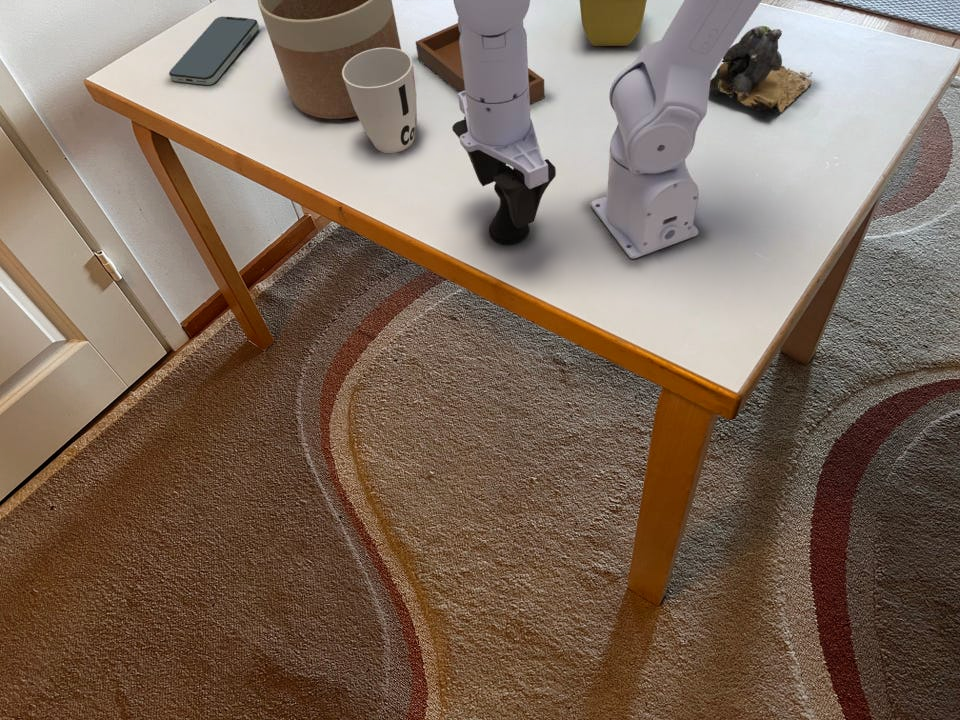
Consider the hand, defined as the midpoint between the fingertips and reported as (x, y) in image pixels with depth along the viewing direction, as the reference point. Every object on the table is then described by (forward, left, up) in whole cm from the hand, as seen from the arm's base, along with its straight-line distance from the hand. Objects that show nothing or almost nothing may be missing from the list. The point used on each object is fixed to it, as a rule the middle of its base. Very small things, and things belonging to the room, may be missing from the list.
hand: (506, 201), depth 75 cm
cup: (+22, +6, -4) cm, 23 cm away
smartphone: (+54, +24, -4) cm, 59 cm away
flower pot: (+29, -28, -4) cm, 40 cm away
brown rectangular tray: (+29, -8, -4) cm, 30 cm away
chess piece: (0, 0, -4) cm, 4 cm away
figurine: (+9, -37, -4) cm, 38 cm away
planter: (+36, +8, -4) cm, 37 cm away
